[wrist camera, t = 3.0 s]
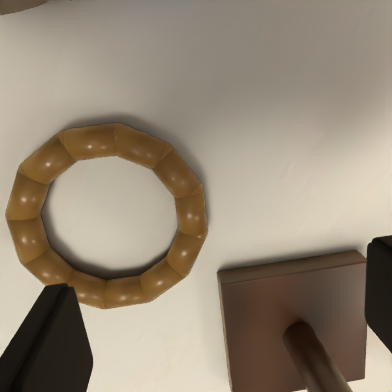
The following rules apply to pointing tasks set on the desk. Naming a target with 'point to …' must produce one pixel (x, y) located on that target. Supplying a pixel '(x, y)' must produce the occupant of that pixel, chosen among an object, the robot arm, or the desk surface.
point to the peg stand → (295, 324)
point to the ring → (96, 148)
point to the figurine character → (18, 5)
